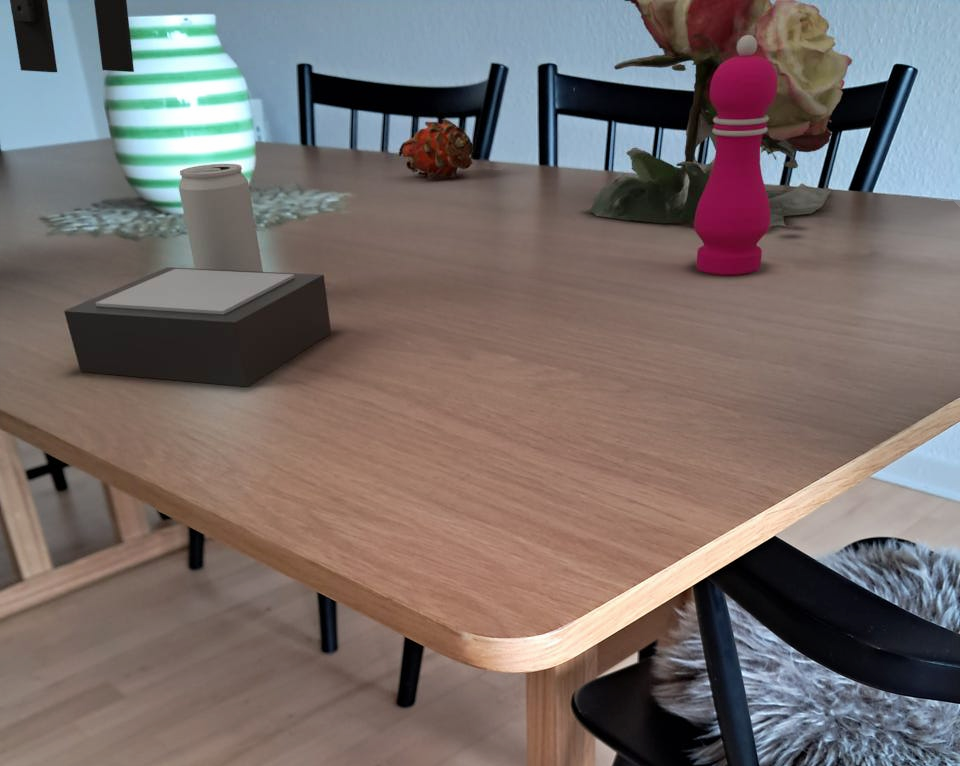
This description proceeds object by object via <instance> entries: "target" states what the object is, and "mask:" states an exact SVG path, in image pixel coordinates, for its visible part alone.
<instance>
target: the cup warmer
mask: <svg viewBox="0 0 960 766" xmlns="http://www.w3.org/2000/svg"><path fill="white" fill-rule="evenodd" d="M327 297H328V296H327V290H326V282H325V274H317V273H299V272H298V273H297V272H295V273H294V272H277V271H276V272H275V271H263V272H256V271H235V270H214V269H195V268H192V267H191V268H190V267H168V266H167V267H165V268H162V269H160V270H157V271H155V272H152V273H150V274H148V275H145V276H143V277H141V278H138V279H136V280H134V281H131V282H129V283H127V284H124V285H121V286H119V287H117V288H115V289H112V290H110V291H107V292H105V293H103V294H101V295H98V296H96V297H93V298H91V299H88V300H86V301H83V302H81V303H79V304H77V305H74V306H72V307H69V308H67V309H64V310H63V312H64V313H63V314H64V317H65V321H66V324H67V327H68V331H69V334H70V338H71V342H72V347H73V350H74V352H75V357H76V360H77V364H78V368H79V371H80V373H90V374H103V375H113V376H124V377H135V378H145V379H146V378H147V379H158V380H168V381H169V380H170V381H179V382H192V383H201V384H202V383H203V384H212V385H213V384H214V385H224V386H235V387H236V386H237V387H247V388H248V387H250V386H251V385H252V384H254V383H256V382H257V381H258V380H260V379H261V378H263V377H265V376H267V375H268V374H270V373H271V372H273V371H274V370H276V369H277V368H279V367H280V366H282V365H284V364H285V363H287V362H288V361H290V360H291V359H293V358H294V357H296V356H297V355H299V354H301V353H303V352H304V351H305V350H307V349H309V348H310V347H311V346H313V345H315V344H317V343H318V342H319V341H322V340H323V339H324V338H326V337H327V336H329V335H331V334H332V327H331V320H330V311H329V304H328V298H327Z"/></svg>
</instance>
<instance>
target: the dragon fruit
mask: <svg viewBox="0 0 960 766" xmlns="http://www.w3.org/2000/svg"><path fill="white" fill-rule="evenodd" d="M442 121H443V122H442V123H439V122H438V121H425V122H424V124H425V126H426V127H425V128H420V129H419V130H418V131H416V132H415V133H414V135H413V137H411V138H409V139H408V140H406V141H404V142H403V143H402V144H401V146H400V147H399V149H398V152H397V153H396V154H398V157H399V158H400V157H401V156H402V157H403V158H407V159H408V161H406V164H405V165H406V168H407V169H408V170H410V171H411V172H412V173H417V175H418V176H425V177H426V178H428V179H430V180H431V181H434V180H436V179H437V178H438V177H440V176H441V175H442V176H443V177H445V178H446V179H455V178H456V177H457V171H458V168H459V169H461V170H464V169H468V168H470V167H471V166H472V165H473V163H474V162H473V161H472V157H471V155H472V154H473V153H474V144H473V142H472V141H471V138H470V137H469V135H468V134H467V133H466V132H465V130H464V129H463V128H462V127H460V126H457V125H456V124H455V123H454V122H452V121H451V120H449V119H447V118H442Z"/></svg>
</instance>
